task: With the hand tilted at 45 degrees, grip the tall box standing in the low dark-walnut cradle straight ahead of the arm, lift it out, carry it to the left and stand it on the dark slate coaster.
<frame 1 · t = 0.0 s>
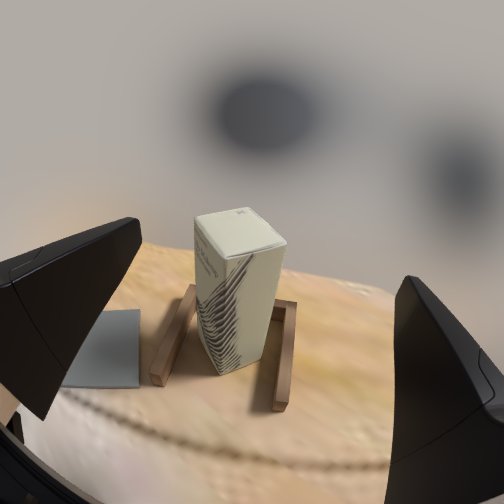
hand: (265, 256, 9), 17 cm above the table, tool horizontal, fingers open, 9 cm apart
coaster: (96, 347, 23), on the table
cradle: (230, 348, 25), on the table
box: (230, 350, 25), resting in cradle
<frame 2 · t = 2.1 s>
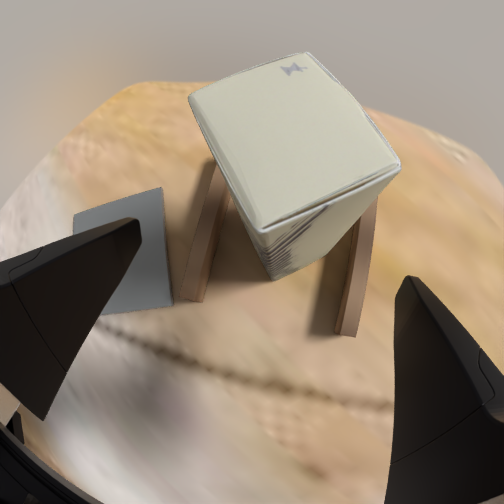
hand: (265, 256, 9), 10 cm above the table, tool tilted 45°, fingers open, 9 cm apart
coaster: (116, 255, 20), on the table
cradle: (285, 237, 19), on the table
box: (285, 238, 19), resting in cradle
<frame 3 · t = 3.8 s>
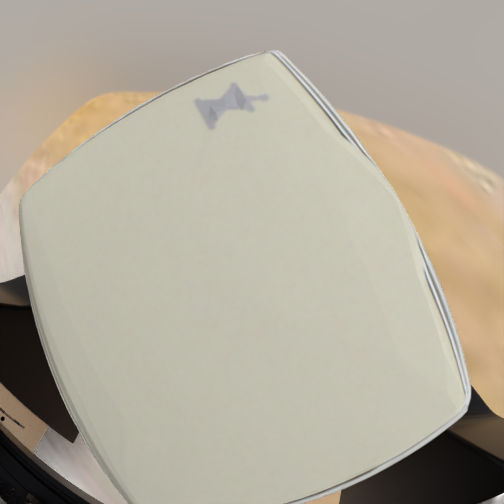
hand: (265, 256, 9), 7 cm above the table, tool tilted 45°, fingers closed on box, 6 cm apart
box: (268, 303, 15), resting in cradle, touching gripper
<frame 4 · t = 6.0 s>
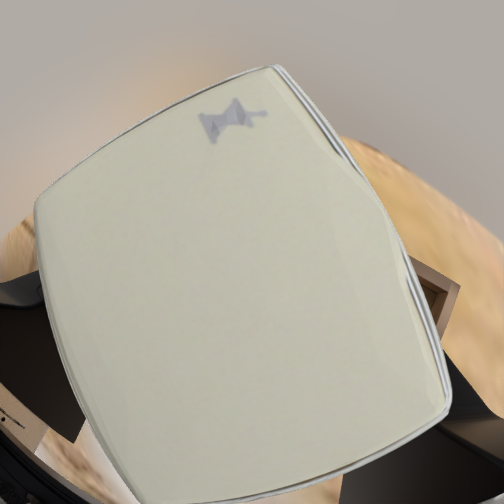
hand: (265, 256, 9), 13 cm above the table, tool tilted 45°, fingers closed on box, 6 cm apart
cradle: (374, 322, 20), on the table
box: (272, 303, 15), point 6 cm above the table, touching gripper
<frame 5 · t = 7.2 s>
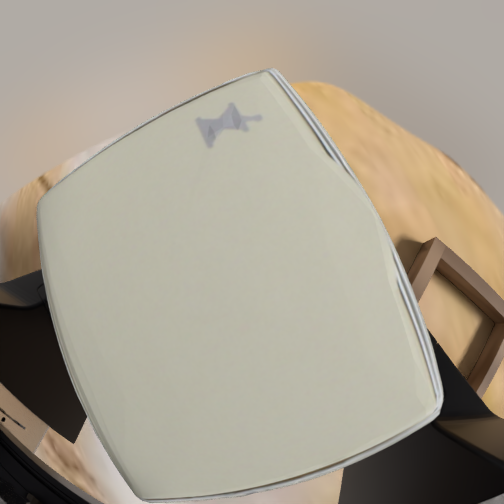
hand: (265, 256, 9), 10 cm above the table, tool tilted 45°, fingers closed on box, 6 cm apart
cradle: (439, 347, 16), on the table
box: (273, 303, 15), point 3 cm above the table, touching gripper
when the fingers open (8 cm above the table, at t = 8.2 s): box stays where it is, resting on coaster.
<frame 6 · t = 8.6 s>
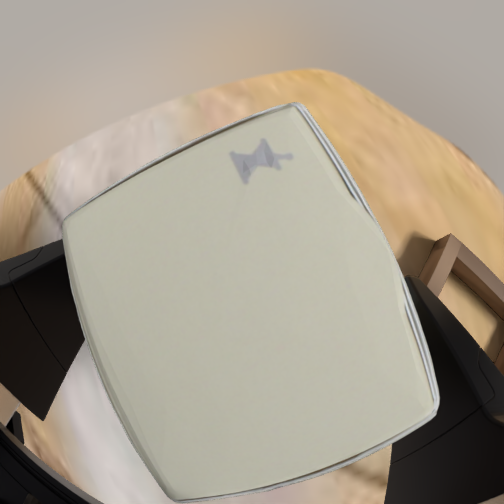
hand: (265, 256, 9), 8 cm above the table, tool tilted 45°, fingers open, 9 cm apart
cradle: (453, 355, 14), on the table
box: (272, 307, 16), resting on coaster
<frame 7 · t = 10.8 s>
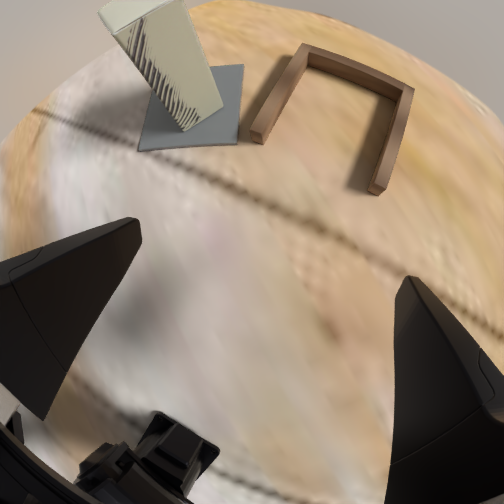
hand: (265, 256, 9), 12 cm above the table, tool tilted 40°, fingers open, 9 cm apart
coaster: (192, 105, 23), on the table
cradle: (338, 114, 21), on the table
box: (194, 105, 23), resting on coaster
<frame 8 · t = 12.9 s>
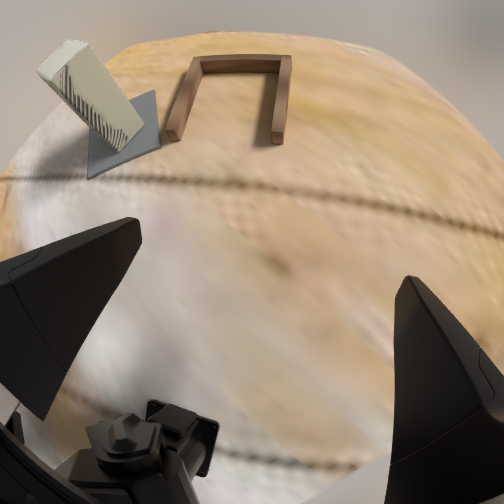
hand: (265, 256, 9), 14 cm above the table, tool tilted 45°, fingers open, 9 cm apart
coaster: (122, 132, 27), on the table
cradle: (234, 99, 26), on the table
box: (123, 131, 27), resting on coaster
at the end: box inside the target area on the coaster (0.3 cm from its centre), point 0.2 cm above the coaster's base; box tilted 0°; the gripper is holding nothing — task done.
